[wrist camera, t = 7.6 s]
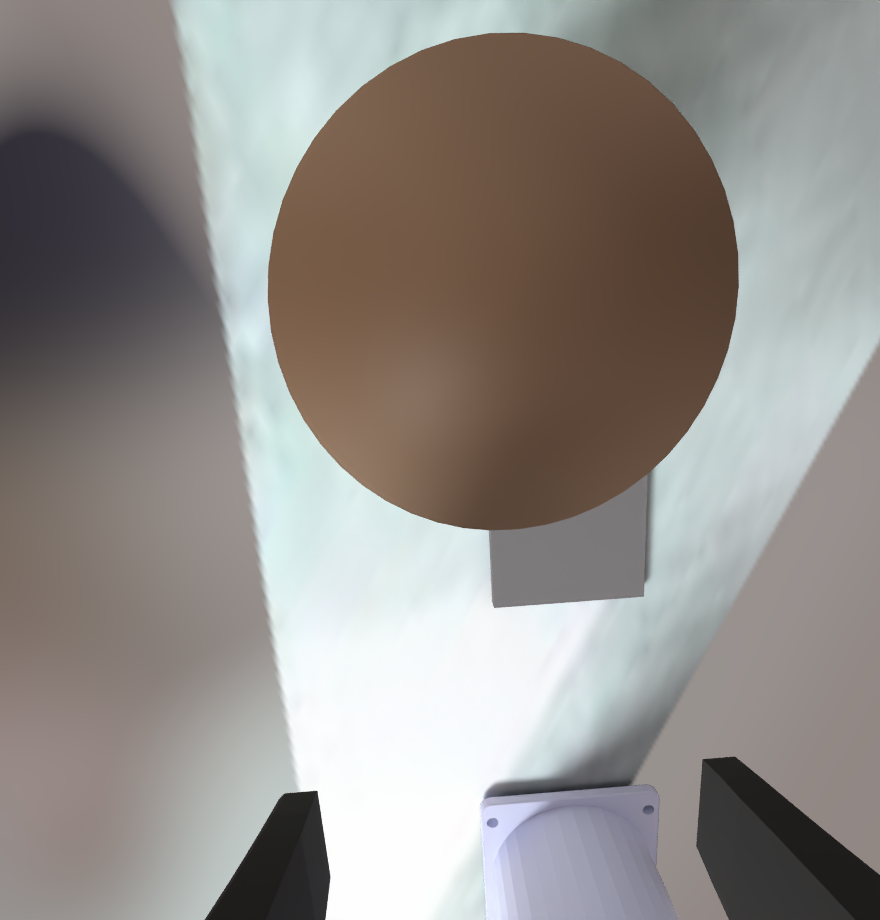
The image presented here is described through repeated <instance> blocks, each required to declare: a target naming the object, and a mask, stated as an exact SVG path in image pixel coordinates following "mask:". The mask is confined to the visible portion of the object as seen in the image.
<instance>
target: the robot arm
mask: <svg viewBox="0 0 880 920" xmlns="http://www.w3.org/2000/svg"><path fill="white" fill-rule="evenodd" d="M480 817H481V834H482V852H483V869H484V886H485V904H486V920H679V917H678V915H677V913H676V911H675V908H674V906H673V904H672V902H671V899H670V897H669V895H668V893H667V891H666V888H665V886H664V884H663V882H662V879H661V877H660V875H659V873H658V871H657V868H656V860H657V840H658V818H659V795H658V793H657V791H656V790H655V788H654V787H653V786H651V785H634V786H622V787H610V788H598V789H586V790H574V791H561V792H549V793H537V794H525V795H513V796H501V797H490V798H486V799H485V800H483V801H482V803H481V804H480ZM491 818H494V819H491ZM696 846H697V848H698V851H699V853H700V855H701V858H702V860H703V862H704V864H705V867H706V869H707V871H708V874H709V876H710V879H711V881H712V883H713V885H714V888H715V890H716V892H717V894H718V897H719V899H720V901H721V903H722V905H723V908H724V910H725V912H726V914H727V916H728V918H729V920H880V875H879V874H878V873H876V872H875V871H874V870H873V869H872V868H870V867H869V866H868V865H867V864H865V863H864V862H863V861H862V860H860V859H859V858H858V857H857V856H855V855H854V854H853V853H852V852H850V851H849V850H848V849H846V848H845V847H844V846H843V845H842V844H840V843H839V842H838V841H837V840H835V839H834V838H833V837H832V836H831V835H829V834H828V833H827V832H826V831H824V830H823V829H822V828H821V827H819V826H818V825H817V824H816V823H815V822H814V821H812V820H811V819H810V818H809V817H807V816H806V815H805V814H804V813H803V812H801V811H800V810H799V809H798V808H796V807H795V806H794V805H793V804H792V803H790V802H789V801H788V800H787V799H786V798H785V797H783V796H782V795H781V794H780V793H778V792H777V791H776V790H775V789H774V788H772V787H771V786H770V785H769V784H768V783H766V782H765V781H764V780H763V779H762V778H760V777H759V776H758V775H757V774H755V773H754V772H753V771H752V770H751V769H749V768H748V767H747V766H746V765H745V764H743V763H742V762H741V761H740V760H738V759H737V758H736V757H725V758H713V759H703V762H702V777H701V790H700V805H699V817H698V832H697V845H696ZM329 884H330V871H329V865H328V858H327V852H326V845H325V838H324V832H323V825H322V819H321V812H320V805H319V799H318V792H317V791H310V792H297V793H286V794H284V795H283V796H282V797H281V798H280V799H279V800H278V802H277V804H276V806H275V807H274V809H273V811H272V812H271V814H270V816H269V817H268V819H267V821H266V823H265V824H264V826H263V828H262V829H261V831H260V833H259V834H258V836H257V838H256V839H255V841H254V843H253V844H252V846H251V848H250V849H249V851H248V853H247V854H246V856H245V857H244V859H243V861H242V862H241V864H240V866H239V867H238V869H237V870H236V872H235V874H234V875H233V877H232V878H231V880H230V882H229V883H228V885H227V886H226V888H225V889H224V891H223V892H222V894H221V896H220V897H219V899H218V900H217V902H216V904H215V905H214V906H213V908H212V910H211V911H210V913H209V914H208V916H207V917H206V919H205V920H325V918H326V909H327V901H328V893H329Z"/></svg>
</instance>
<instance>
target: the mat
mask: <svg viewBox="0 0 880 920" xmlns="http://www.w3.org/2000/svg"><path fill="white" fill-rule="evenodd" d="M647 488H648V474H647V475H646V476H644V477H643V478H642V479H640V480H639V481H638V482H636V483H635V484H634V485H632V486H631V487H630V488H628V489H627V490H626V491H624V492H623V493H621V494H619V495H617V496H616V497H614V498H612V499H610V500H609V501H607V502H605V503H603V504H602V505H600V506H598V507H596V508H593V509H591V510H589V511H586V512H584V513H582V514H579V515H577V516H575V517H572V518H568V519H565V520H561V521H558V522H555V523H551V524H548V525H542V526H536V527H530V528H524V529H514V530H489V538H490V560H491V583H492V602H493V606H494V608H499V607H512V606H525V605H539V604H552V603H565V602H578V601H591V600H605V599H618V598H631V597H644V575H645V546H646V517H647Z"/></svg>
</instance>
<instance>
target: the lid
mask: <svg viewBox="0 0 880 920" xmlns="http://www.w3.org/2000/svg"><path fill="white" fill-rule="evenodd" d="M738 288H739V280H738V250H737V243H736V236H735V229H734V222H733V218H732V215H731V211H730V207H729V204H728V200H727V196H726V193H725V189H724V187H723V185H722V182H721V180H720V178H719V175H718V173H717V171H716V168H715V166H714V164H713V161H712V159H711V157H710V156H709V154H708V152H707V151H706V149H705V147H704V146H703V144H702V142H701V141H700V139H699V137H698V135H697V134H696V132H695V130H694V129H693V128H692V127H691V126H690V124H689V123H688V122H687V121H686V119H685V118H684V117H683V116H682V114H681V113H680V112H679V111H678V109H677V108H676V107H675V106H674V104H673V103H671V102H670V101H669V100H668V99H667V98H666V97H665V96H664V95H663V94H662V93H661V92H660V91H659V90H657V89H656V88H655V87H654V86H653V85H652V84H651V83H650V82H649V81H647V80H646V79H645V78H643V77H642V76H640V75H639V74H637V73H636V72H634V71H633V70H631V69H630V68H628V67H627V66H626V65H624V64H623V63H621V62H619V61H617V60H615V59H613V58H611V57H609V56H607V55H605V54H603V53H600V52H598V51H596V50H594V49H592V48H590V47H587V46H583V45H580V44H577V43H574V42H570V41H567V40H564V39H560V38H557V37H549V36H542V35H535V34H528V33H488V34H483V35H477V36H471V37H465V38H459V39H454V40H451V41H448V42H445V43H442V44H439V45H436V46H433V47H430V48H427V49H424V50H421V51H419V52H417V53H415V54H413V55H411V56H409V57H408V58H406V59H404V60H402V61H400V62H398V63H396V64H394V65H392V66H390V67H389V68H387V69H386V70H384V71H383V72H382V73H380V74H379V75H377V76H376V77H374V78H373V79H372V80H370V81H369V82H367V83H366V84H365V85H363V86H362V87H361V88H360V89H359V90H358V91H357V92H355V93H354V94H353V95H352V96H351V97H350V98H349V99H348V100H347V101H346V102H345V103H344V104H343V105H342V106H341V107H340V108H339V109H338V110H336V112H335V113H334V114H333V115H332V117H331V118H330V119H329V120H328V122H327V123H326V124H325V125H324V127H323V128H322V129H321V130H320V132H319V133H318V134H317V135H316V137H315V138H314V140H313V141H312V143H311V145H310V146H309V148H308V150H307V151H306V153H305V155H304V156H303V158H302V160H301V161H300V163H299V165H298V166H297V168H296V170H295V173H294V175H293V177H292V180H291V182H290V184H289V187H288V189H287V191H286V194H285V196H284V198H283V201H282V205H281V208H280V212H279V215H278V219H277V222H276V226H275V229H274V233H273V240H272V246H271V253H270V260H269V269H268V305H269V315H270V324H271V333H272V337H273V341H274V346H275V350H276V354H277V358H278V363H279V365H280V368H281V371H282V373H283V376H284V379H285V382H286V384H287V387H288V390H289V392H290V394H291V396H292V398H293V400H294V402H295V404H296V406H297V408H298V410H299V412H300V413H301V415H302V417H303V419H304V421H305V422H306V424H307V425H308V426H309V428H310V429H311V431H312V432H313V434H314V435H315V437H316V438H317V439H318V441H319V442H320V444H321V445H322V446H323V447H324V448H325V449H326V451H327V452H328V453H329V454H330V455H331V456H332V457H333V458H334V459H335V461H336V462H337V463H338V464H339V465H340V466H341V467H342V468H343V469H344V470H346V471H347V472H348V473H349V474H350V475H351V476H353V477H354V478H355V479H356V480H357V481H358V482H359V483H361V484H362V485H363V486H365V487H366V488H368V489H369V490H371V491H372V492H374V493H375V494H377V495H378V496H380V497H381V498H383V499H384V500H386V501H388V502H390V503H392V504H394V505H396V506H398V507H400V508H402V509H404V510H406V511H408V512H410V513H412V514H415V515H418V516H421V517H424V518H426V519H429V520H432V521H435V522H438V523H443V524H448V525H452V526H457V527H462V528H470V529H482V530H514V529H524V528H530V527H536V526H542V525H548V524H551V523H555V522H558V521H561V520H565V519H568V518H572V517H575V516H577V515H579V514H582V513H584V512H586V511H589V510H591V509H593V508H596V507H598V506H600V505H602V504H603V503H605V502H607V501H609V500H610V499H612V498H614V497H616V496H617V495H619V494H621V493H623V492H624V491H626V490H627V489H628V488H630V487H631V486H632V485H634V484H635V483H636V482H638V481H639V480H640V479H642V478H643V477H644V476H646V475H647V474H648V473H649V472H650V471H651V470H652V469H653V468H654V467H655V466H656V465H658V464H659V463H660V462H661V461H662V460H663V459H664V458H665V457H666V456H667V455H668V454H669V453H670V452H671V450H672V449H673V448H674V447H675V446H676V444H677V443H678V442H679V441H680V440H681V438H682V437H683V436H684V435H685V434H686V432H687V431H688V430H689V428H690V427H691V425H692V424H693V422H694V420H695V419H696V417H697V416H698V414H699V413H700V411H701V410H702V408H703V407H704V405H705V403H706V401H707V399H708V397H709V395H710V393H711V391H712V389H713V387H714V385H715V383H716V381H717V379H718V376H719V373H720V370H721V368H722V365H723V362H724V359H725V357H726V354H727V351H728V348H729V343H730V339H731V335H732V330H733V326H734V322H735V316H736V306H737V297H738Z"/></svg>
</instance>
